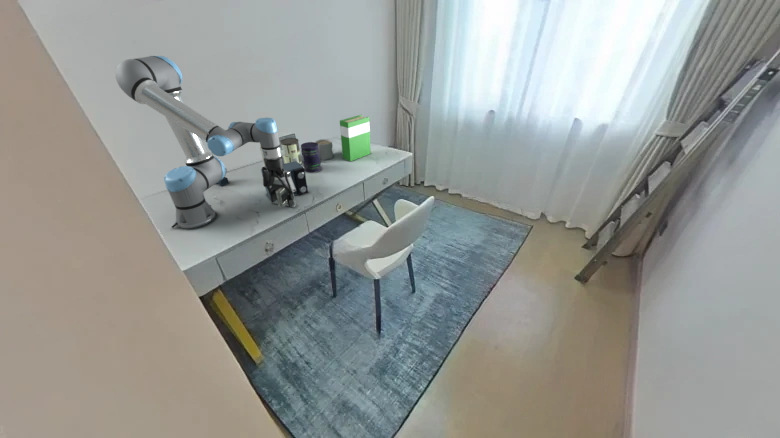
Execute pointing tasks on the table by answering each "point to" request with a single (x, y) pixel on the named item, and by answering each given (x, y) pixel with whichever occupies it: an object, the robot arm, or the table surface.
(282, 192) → the microwave door
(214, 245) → the table surface
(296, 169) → the microwave
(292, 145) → the coffee can
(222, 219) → the table surface
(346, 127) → the hardback book
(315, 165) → the storage jar
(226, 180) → the watch
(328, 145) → the coffee mug
